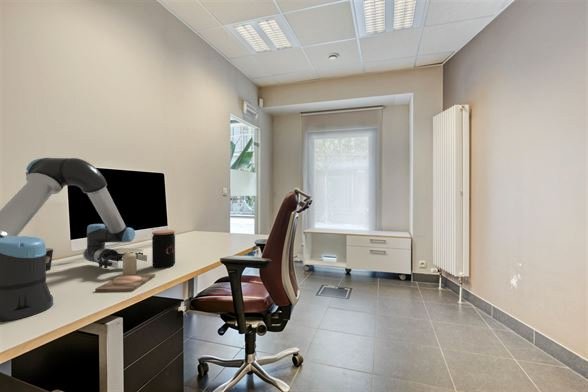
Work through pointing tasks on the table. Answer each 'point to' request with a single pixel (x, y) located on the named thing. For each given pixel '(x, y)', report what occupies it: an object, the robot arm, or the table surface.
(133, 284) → the candle board
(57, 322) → the table surface
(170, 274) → the table surface
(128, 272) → the candle
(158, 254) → the coffee jar
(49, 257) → the coffee mug
